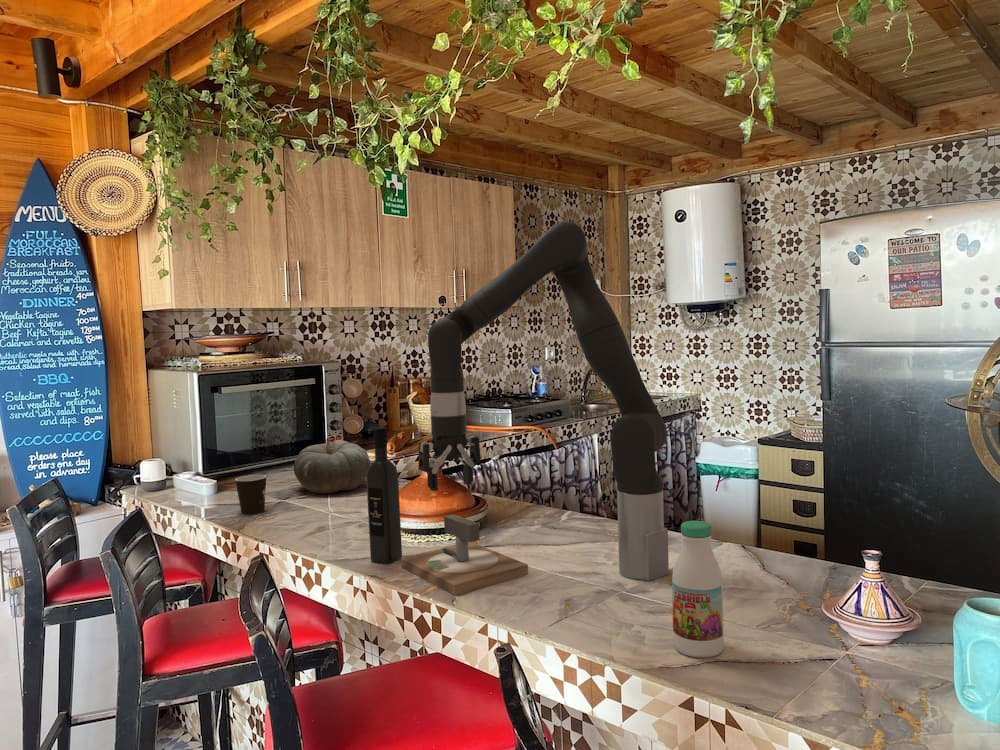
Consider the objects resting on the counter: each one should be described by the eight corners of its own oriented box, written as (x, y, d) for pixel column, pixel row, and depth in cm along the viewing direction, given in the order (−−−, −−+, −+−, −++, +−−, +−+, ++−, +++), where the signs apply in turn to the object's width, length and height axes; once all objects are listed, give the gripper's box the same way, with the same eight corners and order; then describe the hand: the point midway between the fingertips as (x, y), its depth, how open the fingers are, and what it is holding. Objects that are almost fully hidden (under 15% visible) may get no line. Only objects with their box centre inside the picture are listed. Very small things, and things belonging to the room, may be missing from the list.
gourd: (351, 469, 261) (348, 422, 256) (388, 491, 242) (385, 441, 237) (284, 488, 245) (279, 439, 241) (317, 513, 227) (313, 461, 222)
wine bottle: (388, 565, 163) (381, 430, 160) (368, 561, 165) (361, 429, 163) (404, 557, 168) (397, 426, 165) (384, 554, 170) (377, 425, 168)
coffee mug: (256, 516, 210) (253, 481, 209) (231, 514, 213) (228, 480, 212) (280, 506, 221) (278, 473, 220) (256, 504, 224) (254, 472, 223)
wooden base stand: (528, 573, 153) (527, 562, 153) (455, 595, 143) (454, 583, 143) (470, 549, 171) (469, 539, 171) (401, 567, 161) (400, 556, 161)
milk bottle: (674, 635, 121) (672, 516, 120) (723, 639, 119) (721, 518, 117) (671, 656, 114) (668, 529, 112) (724, 661, 111) (721, 531, 110)
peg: (481, 563, 154) (479, 523, 153) (470, 566, 152) (468, 525, 151) (449, 549, 164) (447, 512, 163) (439, 552, 162) (437, 514, 162)
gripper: (428, 417, 150) (431, 495, 152) (485, 410, 159) (488, 485, 160) (410, 414, 157) (413, 489, 158) (466, 408, 165) (469, 479, 166)
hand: (451, 487), depth 159 cm, fingers open, 8 cm apart
